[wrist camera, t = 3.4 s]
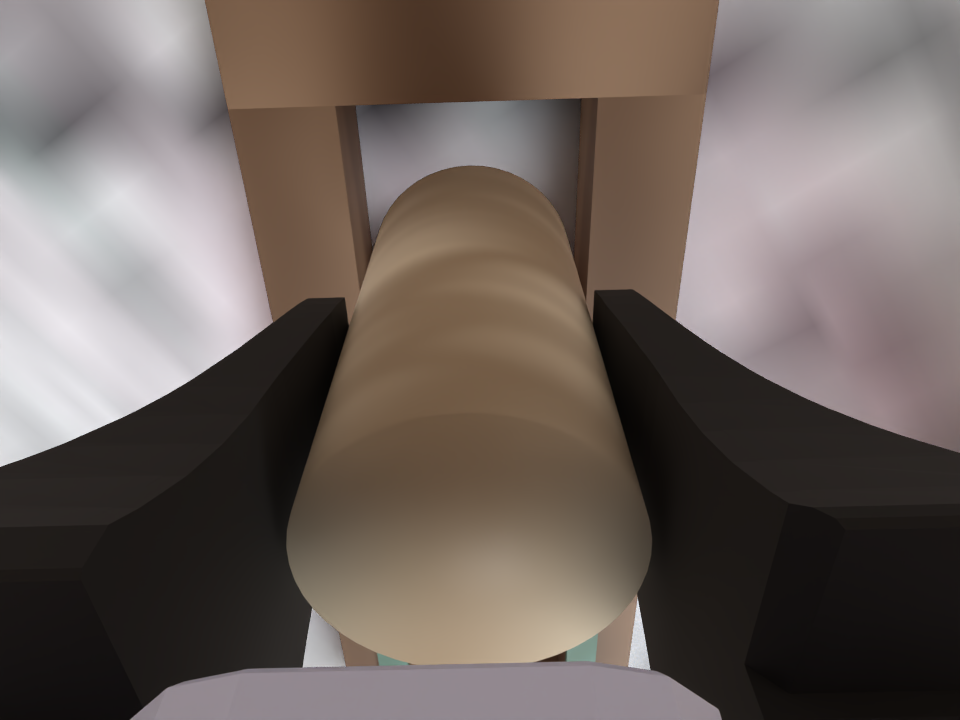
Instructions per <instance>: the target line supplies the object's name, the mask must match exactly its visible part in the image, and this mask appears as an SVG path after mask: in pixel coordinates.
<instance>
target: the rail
mask: <svg viewBox="0 0 960 720" xmlns="http://www.w3.org/2000/svg"><path fill="white" fill-rule="evenodd" d="M205 4H206V8H207V13H208V18H209V23H210V27H211V32H212V37H213V41H214V46H215V51H216V56H217V60H218V65H219V70H220V74H221V79H222V84H223V89H224V93H225V98H226V103H227V107H228V112H229V117H230V122H231V126H232V131H233V136H234V140H235V145H236V150H237V154H238V159H239V164H240V169H241V173H242V178H243V183H244V187H245V192H246V197H247V202H248V206H249V211H250V216H251V220H252V225H253V230H254V235H255V239H256V244H257V249H258V253H259V258H260V263H261V268H262V272H263V277H264V282H265V286H266V291H267V296H268V301H269V305H270V310H271V315H272V319H273V322H275V321H276V320H277V319H278V318H280V317H281V316H282V315H284V314H285V313H286V312H288V311H289V310H290V309H292V308H293V307H295V306H296V305H297V304H299V303H300V302H302V301H304V300H306V299H307V298H335V297H345V302H346V309H347V316H348V322H349V325H350V322H351V319H352V316H353V313H354V309H355V306H356V303H357V300H358V297H359V293H360V290H361V287H362V284H363V281H364V278H365V274H366V271H367V268H368V265H369V262H370V258H371V255H372V252H373V251H372V242H371V234H370V225H369V217H368V209H367V200H366V192H365V183H364V175H363V166H362V158H361V150H360V141H359V133H358V124H357V116H356V107H355V105H380V104H412V103H443V102H475V101H507V100H539V99H570V98H581V116H580V137H579V159H578V181H577V202H576V224H575V245H574V262H575V265H576V269H577V272H578V276H579V279H580V283H581V286H582V290H583V293H584V296H585V300H586V303H587V307H588V310H589V314H590V317H591V321H592V320H593V305H594V290H621V289H633V290H635V291H636V292H638V293H639V294H641V295H642V296H644V297H645V298H646V299H648V300H649V301H650V302H652V303H653V304H654V305H656V306H657V307H658V308H660V309H661V310H662V311H664V312H665V313H666V314H668V315H669V316H670V317H672V318H673V319H674V320H675V319H676V312H677V305H678V297H679V290H680V283H681V275H682V268H683V261H684V253H685V246H686V239H687V231H688V224H689V217H690V210H691V202H692V195H693V188H694V180H695V173H696V166H697V158H698V151H699V144H700V136H701V129H702V122H703V114H704V107H705V100H706V93H707V85H708V78H709V71H710V63H711V56H712V49H713V41H714V34H715V27H716V19H717V12H718V5H719V0H205ZM637 597H638V596H637V593H636V595H635V597H634V598H633V600H632V601H631V603H630V604H629V605H628V606H627V607H626V608H625V610H624V611H623V612H622V613H621V614H620V615H619V616H618V617H617V618H616V619H615V620H614V621H613V622H612V623H610V624H609V625H608V626H607V627H606V628H604V629H603V630H602V631H600V632H599V633H597V634H596V635H595V636H593V637H592V638H590V639H588V640H586V641H585V642H583V643H581V644H579V645H577V646H576V647H574V648H571V649H569V650H567V651H565V652H562V653H560V654H558V655H555V656H552V657H549V658H546V659H543V660H540V661H537V662H572V661H591V662H598V663H604V664H611V665H618V666H625V667H628V663H629V655H630V648H631V641H632V634H633V626H634V619H635V612H636V604H637ZM339 635H340V640H341V644H342V649H343V654H344V659H345V663H346V667H349V666H393V665H415V664H411V663H407V662H403V661H400V660H396V659H393V658H390V657H387V656H385V655H382V654H379V653H377V652H374V651H372V650H370V649H368V648H366V647H364V646H362V645H360V644H358V643H356V642H354V641H353V640H351V639H349V638H348V637H346V636H345V635H343V634H341V633H340V632H339Z"/></svg>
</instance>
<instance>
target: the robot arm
mask: <svg viewBox="0 0 960 720" xmlns="http://www.w3.org/2000/svg"><path fill="white" fill-rule="evenodd" d="M592 324H593V327H594V331H595V334H596V338H597V341H598V345H599V348H600V351H601V355H602V358H603V362H604V365H605V369H606V372H607V376H608V379H609V382H610V386H611V389H612V393H613V396H614V400H615V403H616V406H617V410H618V413H619V417H620V420H621V424H622V427H623V431H624V434H625V437H626V441H627V444H628V448H629V451H630V455H631V458H632V462H633V465H634V468H635V472H636V475H637V479H638V482H639V486H640V489H641V492H642V496H643V499H644V503H645V506H646V510H647V513H648V517H649V520H650V526H651V533H652V550H651V558H650V562H649V567H648V571H647V573H646V576H645V578H644V580H643V583H642V585H641V587H640V589H639V590H638V592H637V596H638V601H639V607H640V612H641V618H642V623H643V628H644V634H645V640H646V646H647V651H648V657H649V663H650V669H651V670H646V669H639V668H632V667H625V666H618V665H611V664H604V663H598V662H591V661H572V662H527V663H483V664H438V665H393V666H349V667H304V668H302V666H303V660H304V653H305V646H306V640H307V634H308V628H309V622H310V617H311V611H312V606H311V605H310V604H309V602H308V601H307V600H306V599H305V597H304V596H303V594H302V593H301V591H300V589H299V587H298V585H297V583H296V582H295V580H294V577H293V574H292V571H291V568H290V565H289V561H288V554H287V548H286V541H287V527H288V522H289V518H290V514H291V510H292V507H293V504H294V501H295V497H296V494H297V491H298V488H299V485H300V481H301V478H302V475H303V472H304V469H305V465H306V462H307V459H308V456H309V453H310V450H311V446H312V443H313V440H314V437H315V434H316V430H317V427H318V424H319V421H320V418H321V415H322V411H323V408H324V405H325V402H326V399H327V395H328V392H329V389H330V386H331V383H332V379H333V376H334V373H335V370H336V367H337V364H338V360H339V357H340V354H341V351H342V348H343V344H344V341H345V338H346V335H347V332H348V329H349V322H348V316H347V309H346V302H345V297H335V298H307V299H306V300H304V301H302V302H300V303H299V304H297V305H296V306H295V307H293V308H292V309H290V310H289V311H288V312H286V313H285V314H284V315H282V316H281V317H280V318H278V319H277V320H276V321H275V322H273V323H272V324H271V325H269V326H268V327H267V328H265V329H264V330H263V331H261V332H260V333H259V334H257V335H256V336H255V337H253V338H252V339H251V340H249V341H248V342H247V343H245V344H244V345H242V346H241V347H240V348H238V349H237V350H236V351H234V352H233V353H231V354H230V355H228V356H227V357H225V358H224V359H222V360H221V361H219V362H218V363H216V364H215V365H213V366H212V367H210V368H209V369H207V370H206V371H204V372H203V373H201V374H200V375H198V376H197V377H195V378H194V379H192V380H191V381H189V382H187V383H186V384H184V385H182V386H181V387H179V388H177V389H176V390H174V391H172V392H170V393H169V394H167V395H165V396H163V397H162V398H160V399H158V400H156V401H154V402H152V403H150V404H148V405H147V406H145V407H143V408H141V409H139V410H137V411H135V412H133V413H131V414H129V415H127V416H125V417H123V418H121V419H118V420H116V421H114V422H112V423H109V424H107V425H105V426H103V427H100V428H98V429H96V430H94V431H91V432H89V433H87V434H85V435H82V436H80V437H78V438H76V439H73V440H71V441H69V442H67V443H64V444H62V445H59V446H57V447H54V448H51V449H49V450H46V451H43V452H41V453H38V454H35V455H33V456H30V457H27V458H25V459H22V460H19V461H16V462H13V463H10V464H7V465H5V466H2V467H0V720H960V453H958V452H954V451H951V450H947V449H944V448H941V447H937V446H934V445H931V444H927V443H924V442H921V441H918V440H914V439H911V438H908V437H904V436H901V435H898V434H895V433H893V432H890V431H887V430H884V429H881V428H878V427H875V426H872V425H869V424H867V423H864V422H862V421H859V420H857V419H854V418H852V417H849V416H846V415H844V414H841V413H839V412H836V411H834V410H831V409H829V408H826V407H824V406H822V405H819V404H817V403H815V402H812V401H810V400H808V399H806V398H804V397H801V396H799V395H797V394H795V393H793V392H791V391H789V390H787V389H785V388H783V387H781V386H779V385H777V384H775V383H773V382H771V381H769V380H767V379H765V378H764V377H762V376H760V375H758V374H756V373H755V372H753V371H751V370H749V369H747V368H746V367H744V366H743V365H741V364H739V363H738V362H736V361H734V360H733V359H731V358H730V357H728V356H726V355H725V354H723V353H721V352H720V351H718V350H717V349H715V348H714V347H712V346H711V345H709V344H708V343H706V342H705V341H703V340H702V339H701V338H699V337H698V336H696V335H695V334H693V333H692V332H691V331H689V330H688V329H686V328H685V327H684V326H682V325H681V324H680V323H678V322H677V321H676V320H674V319H673V318H672V317H670V316H669V315H668V314H666V313H665V312H664V311H662V310H661V309H660V308H658V307H657V306H656V305H654V304H653V303H652V302H650V301H649V300H648V299H646V298H645V297H644V296H642V295H641V294H639V293H638V292H636V291H635V290H633V289H621V290H594V305H593V320H592Z"/></svg>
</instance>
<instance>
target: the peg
mask: <svg viewBox="0 0 960 720" xmlns="http://www.w3.org/2000/svg"><path fill="white" fill-rule="evenodd" d="M286 548H287V554H288V561H289V565H290V568H291V571H292V574H293V577H294V580H295V582H296V583H297V585H298V587H299V589H300V591H301V593H302V594H303V596H304V597H305V599H306V600H307V601H308V602H309V604H310V605H311V606H312V608H313V609H314V610H315V611H316V612H317V613H318V614H319V615H320V616H321V617H322V618H323V619H324V620H325V621H326V622H327V623H328V624H330V625H331V626H332V627H334V628H335V629H336V630H337V631H339V632H340V633H341V634H343V635H345V636H346V637H348V638H349V639H351V640H353V641H354V642H356V643H358V644H360V645H362V646H364V647H366V648H368V649H370V650H372V651H374V652H377V653H379V654H382V655H385V656H387V657H390V658H393V659H396V660H400V661H403V662H407V663H411V664H415V665H438V664H483V663H527V662H537V661H540V660H543V659H546V658H549V657H552V656H555V655H558V654H560V653H562V652H565V651H567V650H569V649H571V648H574V647H576V646H577V645H579V644H581V643H583V642H585V641H586V640H588V639H590V638H592V637H593V636H595V635H596V634H597V633H599V632H600V631H602V630H603V629H604V628H606V627H607V626H608V625H609V624H610V623H612V622H613V621H614V620H615V619H616V618H617V617H618V616H619V615H620V614H621V613H622V612H623V611H624V610H625V608H626V607H627V606H628V605H629V604H630V603H631V601H632V600H633V598H634V597H635V595H636V593H637V592H638V590H639V589H640V587H641V585H642V583H643V580H644V578H645V576H646V573H647V571H648V567H649V562H650V558H651V550H652V533H651V526H650V520H649V517H648V513H647V510H646V506H645V503H644V499H643V496H642V492H641V489H640V486H639V482H638V479H637V475H636V472H635V468H634V465H633V462H632V458H631V455H630V451H629V448H628V444H627V441H626V437H625V434H624V431H623V427H622V424H621V420H620V417H619V413H618V410H617V406H616V403H615V400H614V396H613V393H612V389H611V386H610V382H609V379H608V376H607V372H606V369H605V365H604V362H603V358H602V355H601V351H600V348H599V345H598V341H597V338H596V334H595V331H594V327H593V324H592V321H591V317H590V314H589V310H588V307H587V303H586V300H585V296H584V293H583V290H582V286H581V283H580V279H579V276H578V272H577V269H576V265H575V262H574V259H573V255H572V252H571V248H570V245H569V241H568V238H567V235H566V232H565V228H564V225H563V223H562V221H561V219H560V217H559V215H558V213H557V211H556V210H555V208H554V207H553V205H552V204H551V202H550V201H549V200H548V199H547V198H546V197H545V196H544V195H543V194H542V193H541V192H540V191H539V190H538V189H537V188H535V187H534V186H533V185H532V184H530V183H528V182H527V181H525V180H524V179H522V178H520V177H518V176H516V175H514V174H512V173H509V172H506V171H503V170H500V169H496V168H491V167H485V166H460V167H453V168H449V169H444V170H441V171H438V172H435V173H433V174H430V175H428V176H426V177H424V178H422V179H421V180H419V181H417V182H416V183H414V184H413V185H412V186H410V187H409V188H408V189H406V190H405V191H404V192H403V193H402V194H401V195H400V196H399V197H398V198H397V200H396V201H395V202H394V203H393V205H392V206H391V207H390V209H389V211H388V212H387V214H386V216H385V217H384V220H383V222H382V225H381V227H380V230H379V233H378V236H377V239H376V243H375V246H374V249H373V252H372V255H371V258H370V262H369V265H368V268H367V271H366V274H365V278H364V281H363V284H362V287H361V290H360V293H359V297H358V300H357V303H356V306H355V309H354V313H353V316H352V319H351V322H350V325H349V329H348V332H347V335H346V338H345V341H344V344H343V348H342V351H341V354H340V357H339V360H338V364H337V367H336V370H335V373H334V376H333V379H332V383H331V386H330V389H329V392H328V395H327V399H326V402H325V405H324V408H323V411H322V415H321V418H320V421H319V424H318V427H317V430H316V434H315V437H314V440H313V443H312V446H311V450H310V453H309V456H308V459H307V462H306V465H305V469H304V472H303V475H302V478H301V481H300V485H299V488H298V491H297V494H296V497H295V501H294V504H293V507H292V510H291V514H290V518H289V522H288V527H287V541H286Z"/></svg>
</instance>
